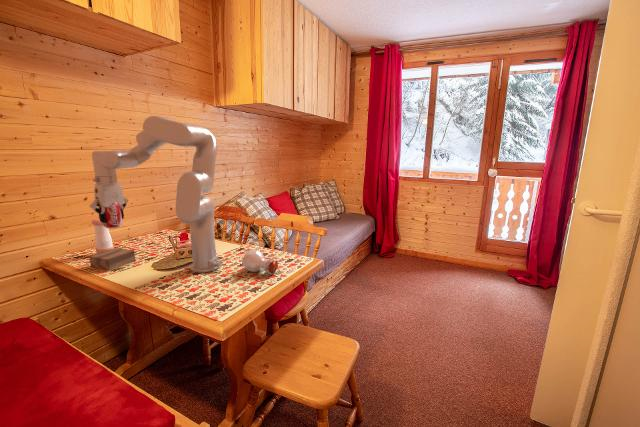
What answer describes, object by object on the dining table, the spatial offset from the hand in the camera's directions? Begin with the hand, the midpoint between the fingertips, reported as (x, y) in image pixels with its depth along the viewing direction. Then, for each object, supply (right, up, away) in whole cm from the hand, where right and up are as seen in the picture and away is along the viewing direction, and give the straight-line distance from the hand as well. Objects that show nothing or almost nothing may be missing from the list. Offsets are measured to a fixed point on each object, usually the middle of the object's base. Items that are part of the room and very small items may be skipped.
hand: (112, 220), depth 131 cm
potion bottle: (+66, -22, -5) cm, 70 cm away
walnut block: (-2, -20, +4) cm, 20 cm away
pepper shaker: (-15, -17, +17) cm, 28 cm away
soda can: (0, -3, +1) cm, 3 cm away
